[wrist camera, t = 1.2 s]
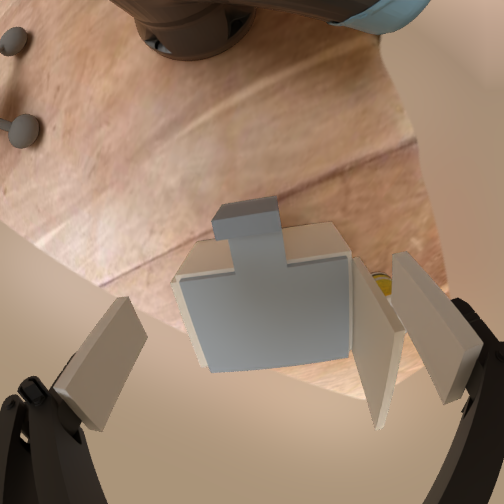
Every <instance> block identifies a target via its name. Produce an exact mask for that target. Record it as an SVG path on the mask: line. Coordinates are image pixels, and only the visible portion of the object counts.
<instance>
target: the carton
mask: <svg viewBox="0 0 504 504" xmlns="http://www.w3.org/2000/svg"><path fill="white" fill-rule="evenodd" d="M282 234H283V241H284V247H285V254H286V261H287V264H291V263H298V262H305V261H312V260H319V259H325V258H332V257H339V256H345V255H346V256H347V258H348V274H349V351H350V350H352V353H353V356H354V359H355V362H356V366H357V369H358V372H359V375H360V379H361V382H362V385H363V389H364V392H365V396H366V399H367V402H368V406H369V410H370V413H371V417H372V420H373V424H374V428H375V430H380V429H383V427H384V424H385V421H386V417H387V414H388V410H389V406H390V402H391V399H392V395H393V391H394V387H395V383H396V378H397V374H398V369H399V364H400V359H401V354H402V348H403V342H404V336H405V328H404V327H403V325H402V323H401V321H400V320H399V318H398V316H397V315H396V313H395V311H394V310H393V308H392V307H391V305H390V303H389V302H388V300H387V299H386V297H385V295H384V294H383V292H382V291H381V289H380V287H379V286H378V284H377V283H376V281H375V280H374V278H373V277H372V275H371V274H370V272H369V271H368V269H367V268H366V266H365V265H364V263H363V262H362V260H361V259H360V257H355V258H352V253H351V249H350V248H349V246H348V245H347V243H346V242H345V240H344V239H343V237H342V236H341V234H340V233H339V231H338V230H337V229H336V227H335V226H334V224H333V223H332V221H330V222H323V223H316V224H308V225H302V226H295V227H288V228H282ZM234 271H235V270H234V265H233V261H232V256H231V252H230V247H229V243H228V239H226V240H219V241H216V240H215V239H209V240H203V241H197V242H196V243H195V245H194V246H193V248H192V249H191V251H190V252H189V254H188V255H187V257H186V259H185V260H184V262H183V263H182V265H181V266H180V268H179V270H178V271H177V273H176V274H175V276H174V278H173V279H172V281H171V283H170V284H171V287H172V290H173V293H174V296H175V299H176V302H177V305H178V308H179V311H180V313H181V316H182V319H183V322H184V324H185V327H186V330H187V333H188V335H189V338H190V341H191V343H192V346H193V348H194V351H195V354H196V356H197V359H198V361H199V364H200V366H201V367H207V366H208V364H207V361H206V359H205V356H204V353H203V351H202V348H201V345H200V343H199V340H198V337H197V334H196V331H195V329H194V326H193V323H192V320H191V317H190V314H189V311H188V308H187V305H186V302H185V299H184V296H183V293H182V290H181V287H180V284H179V281H180V279H181V278H189V277H196V276H204V275H212V274H219V273H227V272H234Z"/></svg>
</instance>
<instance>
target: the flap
mask: <svg viewBox="0 0 504 504" xmlns="http://www.w3.org/2000/svg"><path fill="white" fill-rule="evenodd" d="M211 222H212V227H213V231H214V235H215V240H216V241H219V240H226V239H228V243H229V247H230V252H231V256H232V261H233V265H234V270H235V271H234V272H227V273H219V274H212V275H204V276H196V277H189V278H181V279H180V281H179V284H180V287H181V290H182V293H183V296H184V299H185V302H186V305H187V308H188V311H189V314H190V317H191V320H192V323H193V326H194V329H195V331H196V334H197V337H198V340H199V343H200V345H201V348H202V351H203V353H204V356H205V359H206V361H207V364H208V367H209V369H210V372H211V373H216V372H234V371H248V370H259V369H270V368H280V367H288V366H296V365H304V364H311V363H318V362H324V361H331V360H337V359H342V358H348V354H349V274H348V258H347V256H346V255H345V256H339V257H332V258H325V259H319V260H312V261H305V262H298V263H291V264H287V261H286V254H285V247H284V241H283V234H282V227H281V221H280V214H279V208H278V202H277V196H271V197H264V198H258V199H252V200H246V201H240V202H234V203H228V204H222V205H221V207H220V208H219V210H218V211H217V213H216V215H215V216H214V218H213V219H212V221H211Z"/></svg>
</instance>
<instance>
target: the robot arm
mask: <svg viewBox="0 0 504 504" xmlns="http://www.w3.org/2000/svg"><path fill="white" fill-rule="evenodd" d="M110 1H111V2H113V3H114V4H116V5H117V6H118V7H120V8H121V9H123V10H124V11H126V12H127V13H128V14H130V15H131V16H132V17H134V20H135V23H136V27H137V30H138V33H139V35H140V37H141V38H142V40H143V41H144V42H145V43H146V44H147V45H148V46H149V47H150V48H151V49H153V50H154V51H156V52H157V53H159V54H161V55H163V56H165V57H168V58H171V59H175V60H184V61H190V60H199V59H204V58H208V57H211V56H214V55H217V54H219V53H221V52H223V51H225V50H227V49H229V48H230V47H232V46H233V45H235V44H236V43H237V42H238V41H239V40H240V39H241V38H242V37H243V36H244V35H245V34H246V33H247V31H248V30H249V29H250V27H251V25H252V23H253V21H254V18H255V14H256V7H257V8H264V9H271V10H277V11H282V12H287V13H292V14H297V15H302V16H306V17H310V18H314V19H318V20H322V21H326V22H327V24H330V25H333V26H346V27H349V28H353V29H356V30H360V31H363V32H366V33H370V34H376V35H381V34H385V33H391V32H395V31H397V30H399V29H401V28H403V27H404V26H406V25H407V24H409V23H410V22H411V21H412V20H414V19H415V18H416V17H417V16H418V15H419V14H420V13H421V12H422V10H423V9H424V8H425V7H426V6H427V5H428V3H429V2H430V0H110ZM391 304H392V306H393V307H394V309H395V311H396V313H397V314H398V316H399V318H400V320H401V321H402V323H403V325H404V327H405V329H406V330H407V332H408V334H409V336H410V338H411V340H412V342H413V343H414V345H415V347H416V349H417V351H418V353H419V355H420V357H421V359H422V361H423V363H424V365H425V367H426V369H427V371H428V373H429V375H430V377H431V379H432V381H433V383H434V385H435V387H436V389H437V392H438V394H439V396H440V398H441V400H442V402H443V405H445V404H448V403H450V402H453V401H455V400H458V399H460V398H461V397H462V395H463V392H464V390H465V388H466V389H467V391H468V393H469V395H470V396H469V398H468V400H467V402H466V404H465V406H464V408H463V409H462V411H461V412H462V413H463V415H462V418H461V421H460V424H459V427H458V430H457V432H456V435H455V437H454V440H453V442H452V445H451V447H450V450H449V452H448V454H447V457H446V459H445V461H444V463H443V466H442V468H441V470H440V472H439V474H438V476H437V478H436V480H435V482H434V484H433V486H432V488H431V490H430V491H429V493H428V495H427V497H426V499H425V500H424V502H423V504H488V502H489V499H490V497H491V494H492V492H493V489H494V486H495V484H496V481H497V478H498V475H499V472H500V469H501V466H502V463H503V460H504V342H499V341H498V339H497V338H496V337H495V336H494V334H493V333H492V332H491V330H490V329H489V328H488V327H487V325H486V324H485V323H484V322H483V320H482V319H480V317H479V316H478V314H477V313H475V311H474V310H473V309H472V307H471V306H470V305H469V304H468V303H467V302H465V301H463V300H461V299H459V298H455V299H452V300H450V299H449V298H448V297H447V296H446V295H445V293H444V292H443V291H442V290H441V289H440V287H439V286H438V285H437V284H436V283H435V282H434V281H433V279H432V278H431V277H430V276H429V275H428V274H427V273H426V272H425V270H424V269H423V268H422V267H421V266H420V265H419V264H418V263H417V262H416V261H415V260H414V258H413V257H412V256H411V255H410V254H409V253H408V252H407V251H405V252H400V253H395V254H392V294H391ZM147 338H148V336H147V335H146V332H145V330H144V328H143V326H142V324H141V322H140V320H139V318H138V316H137V314H136V312H135V310H134V308H133V305H132V303H131V301H130V299H129V297H120V298H117V299H116V300H115V301H114V302H113V304H112V305H111V306H110V308H109V309H108V310H107V312H106V313H105V314H104V316H103V317H102V318H101V320H100V321H99V322H98V323H97V325H96V326H95V328H94V329H93V330H92V332H91V333H90V334H89V336H88V337H87V338H86V340H85V341H84V343H83V344H82V345H81V347H80V348H79V350H78V351H77V352H76V353H75V354H74V355H73V356H72V357H71V358H70V360H69V361H68V363H67V365H66V366H65V367H64V369H63V371H62V372H61V373H60V374H59V376H58V377H57V379H56V380H55V382H54V383H53V385H52V386H51V388H50V389H49V391H48V390H47V388H46V387H45V386H44V385H43V383H42V382H41V381H40V379H39V378H38V377H37V376H31V377H28V378H27V379H25V380H24V381H23V382H22V383H21V384H20V386H19V388H18V391H17V392H18V393H19V394H20V395H21V397H22V398H23V399H24V400H25V401H26V402H23V401H22V400H21V398H20V397H19V396H18V395H16V394H15V395H11V396H9V397H8V398H6V399H5V401H4V402H3V404H2V407H1V411H0V504H108V503H107V500H106V498H105V496H104V493H103V490H102V488H101V485H100V482H99V480H98V477H97V474H96V471H95V469H94V465H93V462H92V459H91V456H90V453H89V449H88V446H87V442H86V439H85V435H84V432H83V430H82V428H81V427H80V424H81V422H83V423H84V424H85V425H86V426H87V427H88V428H89V429H90V430H95V431H99V432H102V431H103V429H104V427H105V425H106V422H107V420H108V418H109V416H110V414H111V411H112V409H113V407H114V405H115V403H116V401H117V399H118V397H119V395H120V392H121V390H122V388H123V386H124V383H125V382H126V380H127V378H128V376H129V374H130V372H131V369H132V367H133V366H134V364H135V362H136V360H137V358H138V356H139V354H140V352H141V349H142V348H143V346H144V344H145V342H146V340H147ZM20 433H23V434H24V435H25V436H26V437H27V438H28V442H27V443H26V442H25V441H24V440H23V439H22V438H21V437H20Z"/></svg>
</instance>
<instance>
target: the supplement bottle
mask: <svg viewBox="0 0 504 504" xmlns="http://www.w3.org/2000/svg"><path fill="white" fill-rule="evenodd" d="M371 275H372V277H373V278H374V280H375V281H376V283H377V284H378V286H379V287H380V289H381V291H382V292H383V294H384V295H385V297H386V299H387V300H388V302H389V303H390V305H391V307H392V308H393V310H394V311H395V309H394V307H393V306H392V304H391V294H392V279H391V278H390V277H389V276H388V275H387V274H385V273H383V272H375V273H372V274H371ZM395 313H396V311H395ZM396 315H397V316H398V314H397V313H396ZM398 318H399V316H398ZM399 320H400V318H399ZM400 321H401V320H400ZM401 323H402V321H401ZM402 325H403V323H402ZM403 327H404V325H403ZM404 328H405V327H404ZM406 333H407V330H406V329H405V334H406Z"/></svg>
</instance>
